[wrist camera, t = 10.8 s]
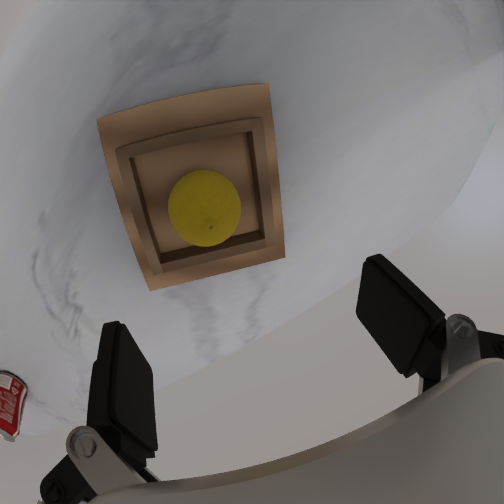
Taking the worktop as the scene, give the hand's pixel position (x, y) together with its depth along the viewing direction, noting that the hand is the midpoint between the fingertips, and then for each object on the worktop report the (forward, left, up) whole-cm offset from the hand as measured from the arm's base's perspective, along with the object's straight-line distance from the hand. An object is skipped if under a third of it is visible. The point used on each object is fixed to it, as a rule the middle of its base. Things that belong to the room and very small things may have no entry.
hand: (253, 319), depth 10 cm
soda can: (+23, -44, -19) cm, 53 cm away
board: (0, -1, -18) cm, 18 cm away
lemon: (0, -1, -17) cm, 17 cm away
